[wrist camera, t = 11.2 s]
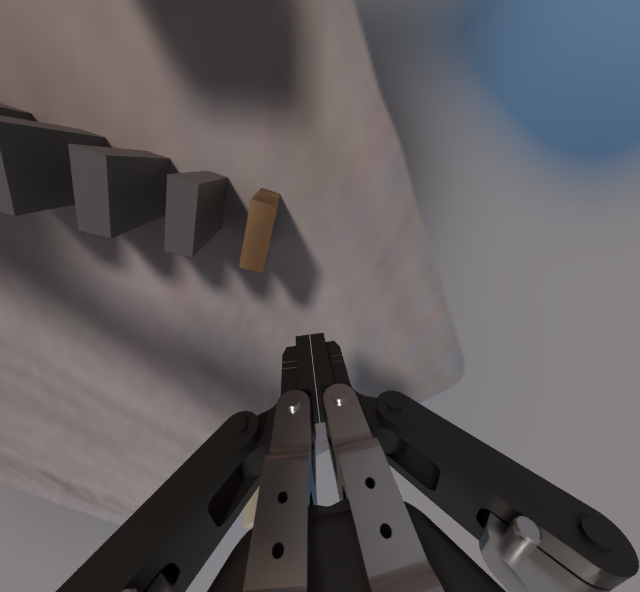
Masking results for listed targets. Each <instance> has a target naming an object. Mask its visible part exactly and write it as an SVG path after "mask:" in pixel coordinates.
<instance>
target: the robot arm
mask: <svg viewBox="0 0 640 592" xmlns="http://www.w3.org/2000/svg"><path fill="white" fill-rule="evenodd" d="M310 337H311V346H312V355H313V363H314V372H315V380H316V388H317V396H318V405H319V413H320V421H321V423H322V422H325V425H326V432H327V441H328V446H329V450H330V455H331V460H332V464H333V469H334V473H335V478H336V482H337V488H338V494H339V500H340V501H339V502H338V503H336V504H334V505H332V506H328V507H325V506H319V505H317V493H316V447H315V438H316V430H315V424H316V423H319V417H318V408H317V399H316V391H315V382H314V373H313V365H312V356H311V348H310V339H309V335H303V336H296V346H292V347H287V348H286V349H285V351H284V353H283V357H282V381H281V396H280V398H279V399H278V401H277V404H276V405H275V406H274V407H273V408H271V409H270V410H268V411H266V412H264V413H262V414H259V415H257V416H256V415H255V414H254V413H252V412H249V411H242V412H238V413H236V414H234V415H232V416H231V417H230V418H229V419H228V420H227V421H226V422H225V423H224V424H223V425H222V426H221V427H220V428H219V429H218V430H217V431H216V432H215V433H214V434H213V435H212V436H211V437H210V438H209V439H208V440H207V441H206V442H205V443H204V444H203V445H202V446H201V447H200V448H199V449H198V450H197V451H196V452H195V453H194V454H193V455H192V456H191V457H190V458H189V459H188V460H187V461H186V462H185V463H184V464H183V465H182V466H181V467H180V468H179V469H178V470H177V471H176V472H175V473H174V474H173V475H172V476H171V477H170V478H169V479H168V480H167V481H166V482H165V483H164V484H163V485H162V486H161V487H160V488H159V489H158V490H157V491H156V492H155V493H154V494H153V495H152V496H151V497H150V498H149V499H148V500H147V501H146V502H145V503H144V504H143V505H142V506H141V507H140V508H139V509H138V510H137V511H136V512H135V513H134V514H133V515H132V516H131V517H130V518H129V519H128V520H127V521H126V522H125V523H124V524H123V525H122V526H121V527H120V528H119V529H118V530H117V531H116V532H115V533H114V534H113V535H112V536H111V537H110V538H109V539H108V540H107V541H106V542H105V543H104V544H103V545H102V546H101V547H100V548H99V549H98V550H97V551H96V552H95V553H94V554H93V555H92V556H91V557H90V558H89V559H88V560H87V561H86V562H85V563H84V564H83V565H82V566H81V567H80V568H79V569H78V570H77V571H76V572H75V573H74V574H73V575H72V576H71V577H70V578H69V579H68V580H67V581H66V582H65V583H64V584H63V585H62V586H61V587H60V588H59V589H58V590H57V591H56V592H185V591H186V590H187V588H188V587H189V585H190V584H191V582H192V581H193V580H194V578H195V577H196V575H197V574H198V573H199V571H200V570H201V568H202V567H203V565H204V564H205V562H206V561H207V560H208V558H209V557H210V555H211V554H212V552H213V551H214V550H215V548H216V547H217V545H218V544H219V543H220V541H221V540H222V538H223V537H224V535H225V534H226V533H227V531H228V530H229V528H230V527H231V526H232V524H233V523H234V521H235V520H236V518H237V517H238V516H239V514H240V513H241V511H242V510H243V508H244V507H245V506H246V504H247V503H248V501H249V500H250V499H251V497H252V496H253V494H254V493H255V491H256V490H257V489H258V487H259V486H260V487H259V493H258V499H257V505H256V511H255V518H254V524H253V528H251V529H250V530H249V531H248V532H247V533H246V534H245V535H244V536H243V538H242V539H241V540H240V541H239V543H238V544H237V545H236V546H235V548H234V550H233V551H232V552H231V554H230V556H229V557H228V559H227V560H226V562H225V564H224V565H223V567H222V568H221V570H220V572H219V573H218V575H217V577H216V578H215V580H214V581H213V583H212V585H211V586H210V588H209V589H208V591H207V592H506V591H505V590H504V589H503V588H501V587H500V586H499V585H498V584H497V583H496V582H495V581H494V580H493V579H492V578H491V577H490V576H489V575H488V574H487V573H486V572H485V571H484V570H483V569H482V568H480V567H479V566H478V565H477V564H476V563H475V562H474V561H473V560H472V559H471V558H470V557H469V556H468V555H467V554H466V553H465V552H464V551H463V550H462V549H460V547H458V546H457V545H456V544H455V543H454V542H453V541H452V540H451V539H450V538H449V537H448V536H447V535H446V534H445V533H444V532H443V531H442V530H441V529H440V528H439V527H437V526H436V525H435V524H434V523H433V522H432V521H431V520H430V519H429V518H428V517H427V516H426V515H425V514H423V513H422V512H421V511H420V510H418V509H417V508H415V507H414V506H412V505H410V504H409V503H407V502H405V501H403V499H402V496H401V494H400V492H399V489H398V487H397V484H396V482H395V479H394V477H393V474H392V472H391V470H390V467H389V465H390V466H391V467H393V468H394V469H395V470H396V471H397V472H398V473H400V474H401V475H402V476H403V477H404V478H405V479H407V480H408V481H409V482H410V483H411V484H413V485H414V486H415V487H416V488H417V489H418V490H420V491H421V492H422V493H423V494H425V495H426V496H427V497H428V498H429V499H430V500H431V501H433V502H434V503H435V504H436V505H437V506H439V507H440V508H441V509H442V510H443V511H444V512H446V513H447V514H448V515H449V516H450V517H452V518H453V519H454V520H455V521H456V522H457V523H459V524H460V525H461V526H462V527H464V528H465V529H466V530H467V531H468V532H469V533H471V534H472V535H473V536H474V537H476V538H477V539H478V540H479V547H480V551H481V554H482V556H483V559H484V561H485V563H486V564H487V566H488V568H489V569H490V571H491V572H492V573H493V574H494V576H496V578H497V579H498V580H499V581H500V582H501V583H502V584H503V585H504V586H505V588H506V589H507V590H508V592H610V591H611V590H612V589H613V588H615V587H617V586H618V585H620V584H621V583H623V582H624V581H626V580H627V579H629V578H630V577H632V576H634V575H635V574H636V573H637V571H638V568H639V561H638V558H637V555H636V552H635V550H634V548H633V547H632V545H631V543H630V542H629V540H628V539H627V538H626V536H625V535H624V534H623V533H622V532H621V530H620V529H619V528H618V527H617V526H616V525H614V523H612V522H611V521H610V520H609V519H608V518H606V517H605V516H604V515H602V514H601V513H599V512H598V511H596V510H595V509H593V508H592V507H590V506H588V505H587V504H585V503H583V502H582V501H580V500H578V499H576V498H575V497H573V496H572V495H570V494H568V493H567V492H565V491H563V490H562V489H560V488H558V487H556V486H555V485H553V484H552V483H550V482H548V481H547V480H545V479H543V478H542V477H540V476H538V475H537V474H535V473H533V472H532V471H530V470H528V469H526V468H525V467H523V466H522V465H520V464H518V463H517V462H515V461H513V460H512V459H510V458H508V457H507V456H505V455H504V454H502V453H500V452H499V451H497V450H495V449H494V448H492V447H490V446H489V445H487V444H485V443H484V442H482V441H480V440H479V439H477V438H475V437H474V436H472V435H470V434H469V433H467V432H465V431H464V430H462V429H460V428H459V427H457V426H455V425H453V424H452V423H450V422H449V421H447V420H445V419H443V418H442V417H440V416H439V415H437V414H435V413H434V412H432V411H430V410H429V409H427V408H425V407H424V406H422V405H420V404H419V403H417V402H416V401H414V400H412V399H411V398H409V397H407V396H406V395H404V394H402V393H400V392H397V391H386V392H383V393H382V394H380V395H379V397H378V398H374V397H368V396H364V395H361V394H359V393H357V392H356V391H355V390H354V389H353V388H352V386H351V384H350V381H349V377H348V374H347V370H346V367H345V363H344V360H343V356H342V352H341V349H340V346H339V345H338V344H337V343H336V342H335V341H330V342H325V338H324V333H318V334H310ZM388 464H389V465H388Z"/></svg>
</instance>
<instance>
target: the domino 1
mask: <svg viewBox="0 0 640 592" xmlns="http://www.w3.org/2000/svg"><path fill="white" fill-rule="evenodd" d="M0 115H1V116H7V117H13V118H19V119H24V120H30V121H32V116H31V113H28V112H25V111H22V110H19V109H16V108H13V107H10V106H7V105H4V104H0Z"/></svg>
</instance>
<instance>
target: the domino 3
mask: <svg viewBox="0 0 640 592" xmlns="http://www.w3.org/2000/svg"><path fill="white" fill-rule="evenodd" d="M68 147H69V156H70V164H71V173H72V182H73V190H74V199H75V207H76V216H77V225H78V231H82V232H87V233H91V234H95V235H99V236H104V237H108V238H112V237H115V236H117V235H119V234H122V233H124V232H126V231H129V230H131V229H133V228H136V227H138V226H141V225H143V224H145V223H148V222H150V221H152V220H155V219H157V218H159V217H162V216H164V215H166V190H167V174H169V169H170V158H167V157H164V156H160V155H157V154H154V153H151V152H148V151H140V150H129V149H119V148H109V147H99V146H88V145H78V144H68Z"/></svg>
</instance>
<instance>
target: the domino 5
mask: <svg viewBox="0 0 640 592" xmlns="http://www.w3.org/2000/svg"><path fill="white" fill-rule="evenodd" d="M279 196H280V194H279V193H276V192H273V191H270V190H266V189H263V188H261V189H260V190H259V191H258V192H257V194H256V195H255V196H254V197H253V198H252V199H251V202H250V207H249V213H248V219H247V224H246V230H245V235H244V241H243V246H242V252H241V257H240V263H239V268H242V269H247V270H251V271H255V272H260V273H263V270H264V266H265V261H266V257H267V253H268V248H269V244H270V240H271V235H272V231H273V226H274V222H275V218H276V213H277V209H278V203H279Z"/></svg>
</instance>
